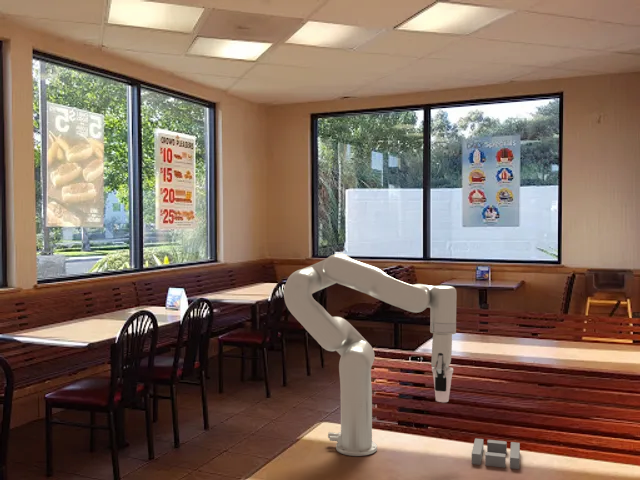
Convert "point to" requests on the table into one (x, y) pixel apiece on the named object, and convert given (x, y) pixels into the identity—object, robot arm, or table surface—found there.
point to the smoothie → (442, 395)
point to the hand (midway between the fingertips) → (442, 387)
